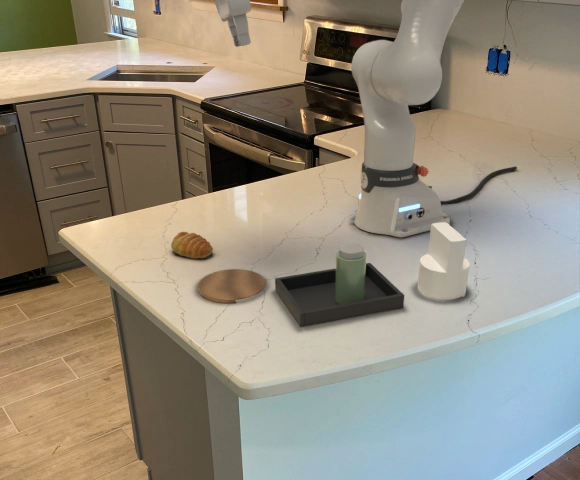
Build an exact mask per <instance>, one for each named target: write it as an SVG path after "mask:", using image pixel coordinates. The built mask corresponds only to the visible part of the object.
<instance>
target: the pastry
mask: <svg viewBox="0 0 580 480" xmlns="http://www.w3.org/2000/svg"><path fill="white" fill-rule="evenodd" d="M170 247H171V250H173V251H174V253H175V254H178V255H179V256H182V257H186V258H190V259H204V258H207V257H208V256H210V255H212V253H213V250H214V248H213V246H212V245H211V243H210V242H209V241H208V240H207V238H204V237H203V236H202V235H201V234H197V233H195V232H188V231H180V232H178V233H177V234H176V235H175V236H174V237H173V239H172V242H171V243H170Z"/></svg>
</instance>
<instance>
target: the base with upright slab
mask: <svg viewBox="0 0 580 480" xmlns="http://www.w3.org/2000/svg"><path fill="white" fill-rule="evenodd" d="M429 232H430V233H429V242H428V251H427V253H426V254H424V255H422V256H421V257H420V259H419V267H418V277H417V290H418V292H420V293H421V295H424V296H425V297H429V298H431V299H436V300H444V301H445V300H456V299H458V298H461V297H463V298H464V297H465V296H466V293H467V287H468V278H469V272H470V264H471V263H470V261H469V260H468V259H467V258H466V257H465V253H466V247H467V238H465V237H464V236H463V235H462V234H461V233H460V232H458V231H457V230H456V229H455V228H454V227H452V226H451V224H450V225H449V224H448V223H447V222H441V223H433V224H431V230H429Z"/></svg>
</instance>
